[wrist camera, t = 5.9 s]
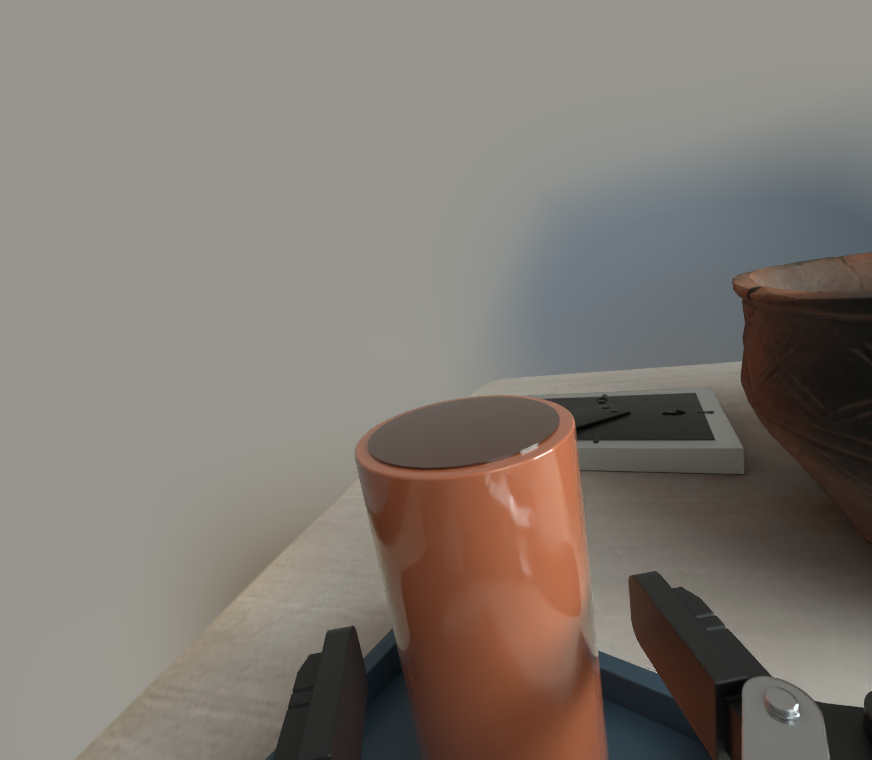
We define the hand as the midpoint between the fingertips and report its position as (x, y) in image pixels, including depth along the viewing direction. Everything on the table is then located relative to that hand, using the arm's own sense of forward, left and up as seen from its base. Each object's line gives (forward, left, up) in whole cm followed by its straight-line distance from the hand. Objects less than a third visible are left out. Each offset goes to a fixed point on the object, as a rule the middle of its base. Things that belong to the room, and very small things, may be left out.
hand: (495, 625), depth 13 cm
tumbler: (-1, +1, -8) cm, 8 cm away
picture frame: (-8, +33, -8) cm, 35 cm away
